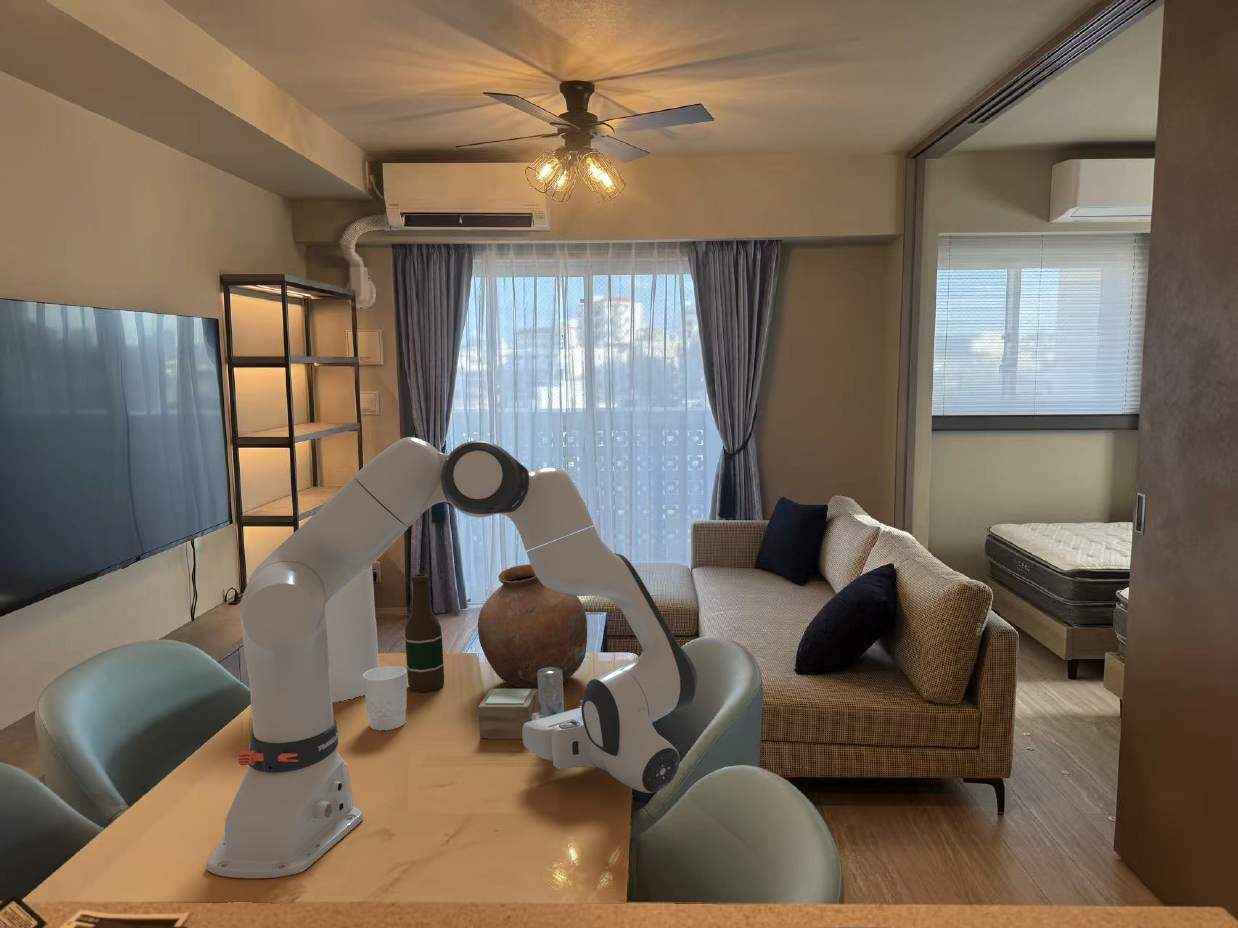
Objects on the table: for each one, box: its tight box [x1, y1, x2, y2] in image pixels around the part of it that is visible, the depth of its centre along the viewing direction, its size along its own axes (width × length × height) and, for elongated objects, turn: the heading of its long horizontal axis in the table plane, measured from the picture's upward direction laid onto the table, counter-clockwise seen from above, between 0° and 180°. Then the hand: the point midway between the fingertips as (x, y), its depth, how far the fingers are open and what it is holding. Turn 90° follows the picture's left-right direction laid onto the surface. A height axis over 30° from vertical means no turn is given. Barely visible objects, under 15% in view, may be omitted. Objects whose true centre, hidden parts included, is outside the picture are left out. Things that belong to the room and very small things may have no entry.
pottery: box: [477, 564, 588, 689], centre depth 183 cm, size 23×23×25 cm
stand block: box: [477, 688, 539, 740], centre depth 161 cm, size 9×9×6 cm
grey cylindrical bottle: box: [537, 667, 565, 717], centre depth 153 cm, size 5×5×13 cm
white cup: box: [363, 665, 408, 732], centre depth 165 cm, size 8×8×10 cm
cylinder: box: [325, 564, 380, 703], centre depth 184 cm, size 17×17×28 cm
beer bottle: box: [404, 573, 445, 693], centre depth 184 cm, size 8×8×24 cm
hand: (559, 710), depth 151 cm, fingers open, 8 cm apart
